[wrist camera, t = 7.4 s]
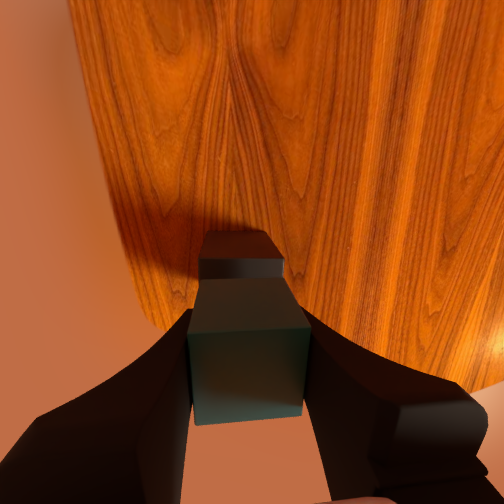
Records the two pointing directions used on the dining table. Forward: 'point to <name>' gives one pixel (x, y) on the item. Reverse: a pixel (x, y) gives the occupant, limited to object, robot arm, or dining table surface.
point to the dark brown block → (239, 256)
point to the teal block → (247, 351)
